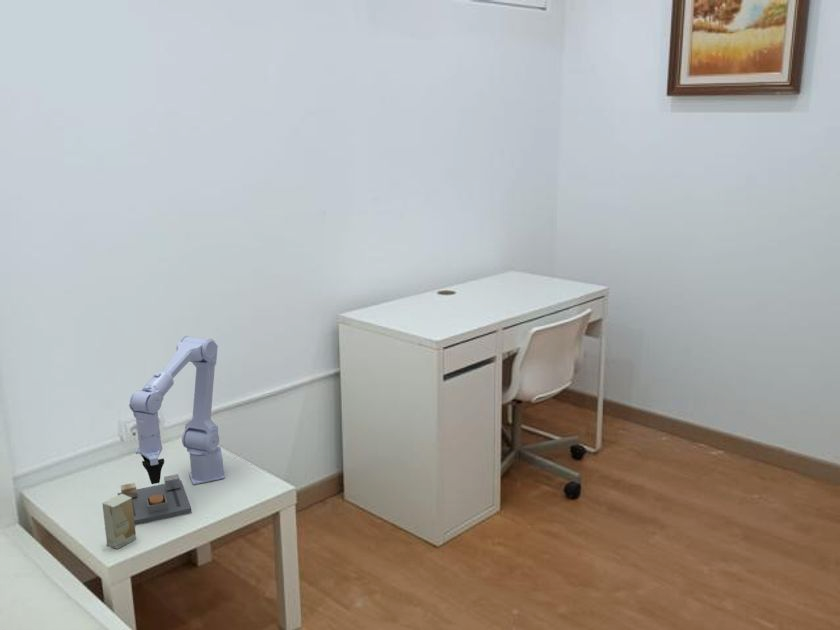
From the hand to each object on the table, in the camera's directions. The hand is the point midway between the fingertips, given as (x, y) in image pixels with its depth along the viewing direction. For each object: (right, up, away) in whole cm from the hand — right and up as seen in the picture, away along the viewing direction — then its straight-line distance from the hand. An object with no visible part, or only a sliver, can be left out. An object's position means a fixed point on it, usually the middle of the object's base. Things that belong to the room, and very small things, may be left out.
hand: (154, 478), depth 217 cm
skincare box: (-4, -14, -12) cm, 19 cm away
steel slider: (+1, -5, +12) cm, 13 cm away
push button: (0, -7, +2) cm, 8 cm away
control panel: (-2, -9, +6) cm, 11 cm away
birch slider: (-10, -7, +8) cm, 14 cm away
